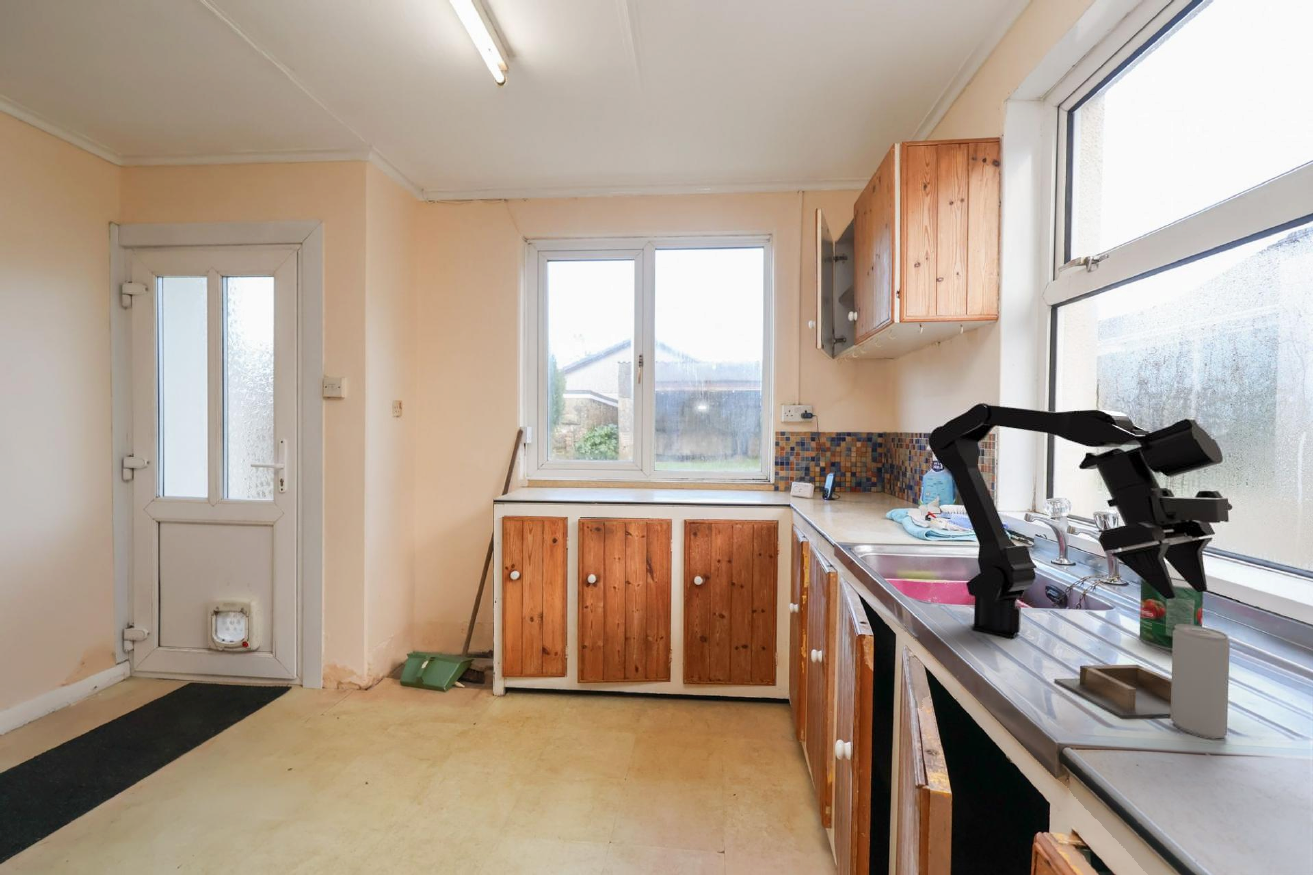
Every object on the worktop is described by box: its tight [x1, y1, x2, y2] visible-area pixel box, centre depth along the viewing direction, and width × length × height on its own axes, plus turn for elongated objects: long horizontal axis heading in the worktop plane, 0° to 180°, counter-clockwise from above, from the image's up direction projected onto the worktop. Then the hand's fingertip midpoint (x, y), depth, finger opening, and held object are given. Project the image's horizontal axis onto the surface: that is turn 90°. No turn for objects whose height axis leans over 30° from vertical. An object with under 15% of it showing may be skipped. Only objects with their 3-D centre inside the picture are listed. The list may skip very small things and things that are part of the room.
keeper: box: [1053, 664, 1172, 719], centre depth 73 cm, size 10×14×3 cm
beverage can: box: [1169, 624, 1231, 740], centre depth 65 cm, size 5×5×12 cm
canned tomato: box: [1138, 576, 1204, 651], centre depth 93 cm, size 8×8×11 cm
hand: (1187, 595), depth 74 cm, fingers open, 9 cm apart
